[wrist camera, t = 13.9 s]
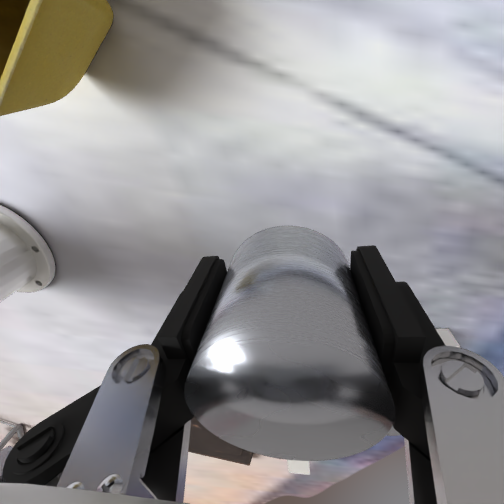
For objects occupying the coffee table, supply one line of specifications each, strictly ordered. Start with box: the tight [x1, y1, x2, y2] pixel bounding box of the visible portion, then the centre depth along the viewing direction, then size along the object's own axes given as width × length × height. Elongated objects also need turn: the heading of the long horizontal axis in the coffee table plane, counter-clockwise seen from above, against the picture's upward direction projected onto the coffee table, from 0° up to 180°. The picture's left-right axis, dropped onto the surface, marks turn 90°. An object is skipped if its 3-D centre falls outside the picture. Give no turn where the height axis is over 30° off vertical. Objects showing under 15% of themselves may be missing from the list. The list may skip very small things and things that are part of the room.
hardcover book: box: [188, 417, 253, 465], centre depth 48 cm, size 16×23×2 cm
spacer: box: [184, 226, 395, 461], centre depth 8 cm, size 5×5×5 cm
